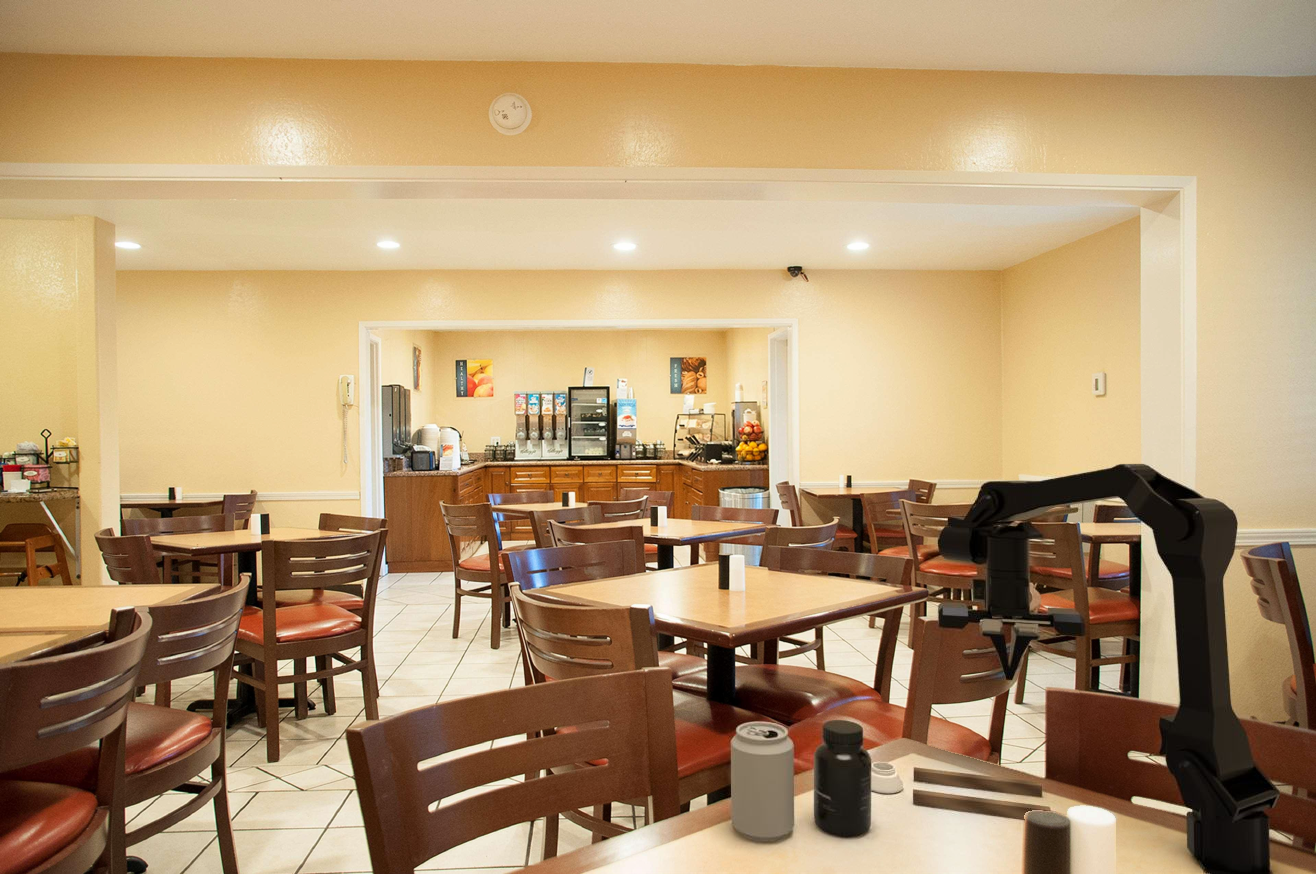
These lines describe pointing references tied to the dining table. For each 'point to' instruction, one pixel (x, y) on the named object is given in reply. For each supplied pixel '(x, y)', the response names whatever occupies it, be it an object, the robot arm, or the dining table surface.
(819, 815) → the supplement bottle
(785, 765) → the can
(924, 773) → the chute
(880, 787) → the lidless jar
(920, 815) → the dining table surface
